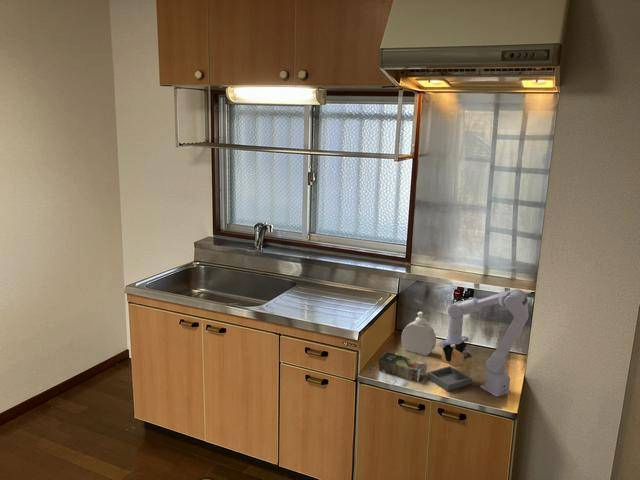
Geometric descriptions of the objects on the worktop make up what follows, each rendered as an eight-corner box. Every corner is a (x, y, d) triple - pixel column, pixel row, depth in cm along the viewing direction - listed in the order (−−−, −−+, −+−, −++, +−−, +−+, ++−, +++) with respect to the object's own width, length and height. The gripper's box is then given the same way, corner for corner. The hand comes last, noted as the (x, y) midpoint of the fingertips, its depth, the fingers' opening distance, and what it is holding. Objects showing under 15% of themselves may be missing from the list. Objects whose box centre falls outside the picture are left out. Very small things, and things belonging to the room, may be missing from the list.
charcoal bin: (470, 384, 236) (471, 378, 235) (447, 391, 230) (448, 385, 229) (449, 372, 247) (450, 365, 246) (427, 378, 240) (427, 372, 240)
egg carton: (453, 360, 259) (453, 352, 258) (442, 354, 265) (442, 346, 264) (469, 355, 264) (470, 348, 263) (458, 350, 270) (459, 342, 270)
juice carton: (428, 374, 245) (429, 361, 243) (420, 383, 237) (420, 370, 235) (387, 363, 255) (388, 351, 254) (377, 371, 247) (378, 359, 246)
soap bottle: (400, 349, 269) (402, 310, 265) (404, 345, 274) (406, 307, 269) (431, 357, 261) (434, 317, 256) (435, 353, 265) (438, 314, 261)
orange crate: (463, 365, 239) (464, 354, 237) (454, 367, 236) (455, 356, 235) (450, 357, 245) (451, 347, 244) (441, 360, 243) (442, 349, 242)
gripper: (461, 323, 244) (459, 352, 247) (435, 329, 237) (433, 359, 240) (472, 329, 238) (470, 358, 241) (447, 335, 231) (444, 365, 234)
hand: (452, 359), depth 240 cm, fingers closed on orange crate, 5 cm apart
